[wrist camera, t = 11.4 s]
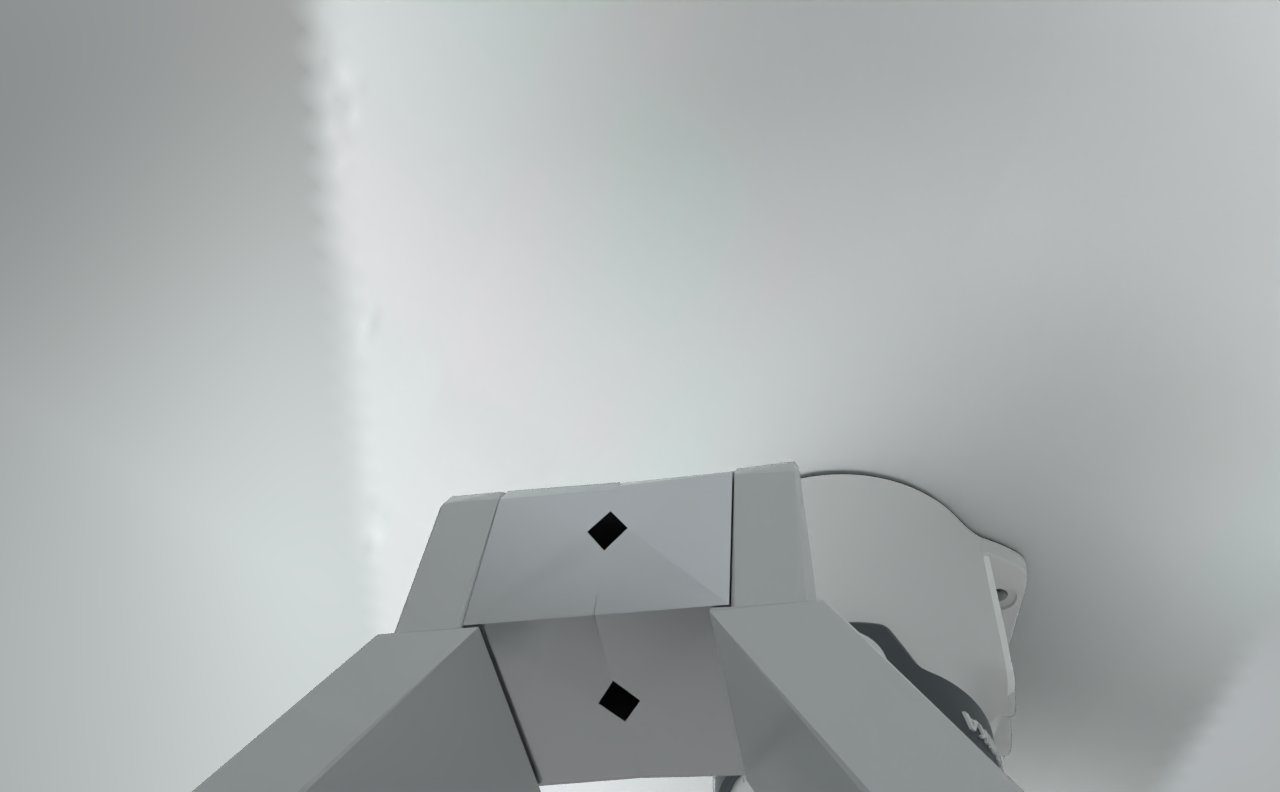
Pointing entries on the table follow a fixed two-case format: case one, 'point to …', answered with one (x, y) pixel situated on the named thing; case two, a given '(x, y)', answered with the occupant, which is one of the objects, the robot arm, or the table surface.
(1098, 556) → the table surface
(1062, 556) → the table surface
